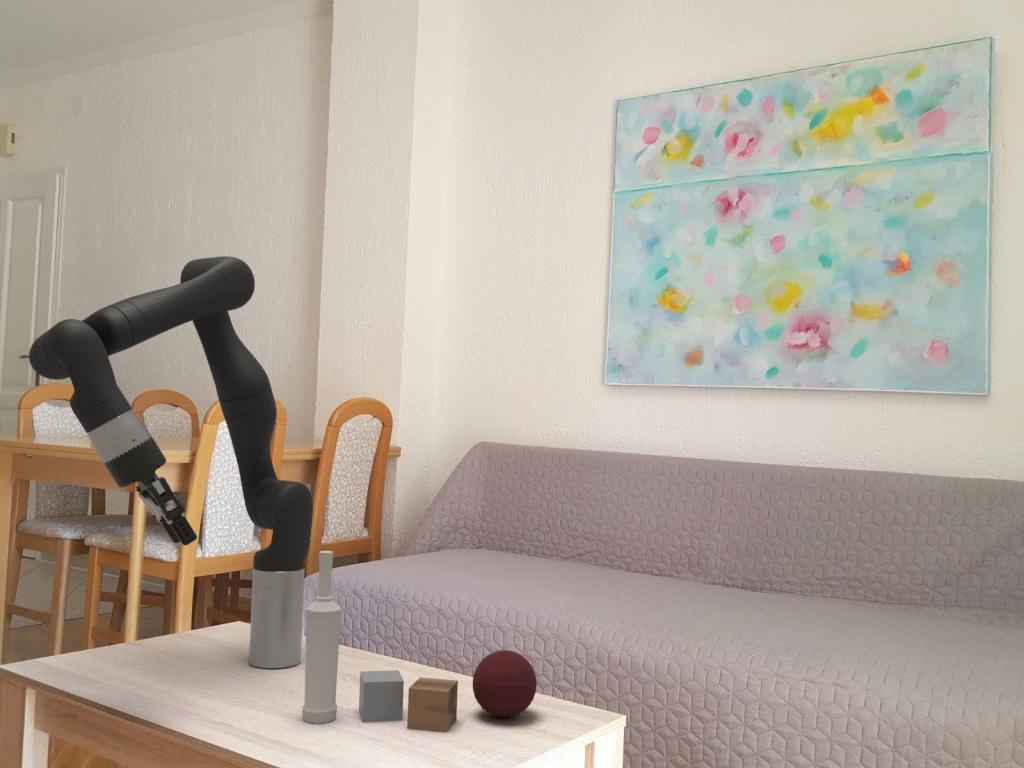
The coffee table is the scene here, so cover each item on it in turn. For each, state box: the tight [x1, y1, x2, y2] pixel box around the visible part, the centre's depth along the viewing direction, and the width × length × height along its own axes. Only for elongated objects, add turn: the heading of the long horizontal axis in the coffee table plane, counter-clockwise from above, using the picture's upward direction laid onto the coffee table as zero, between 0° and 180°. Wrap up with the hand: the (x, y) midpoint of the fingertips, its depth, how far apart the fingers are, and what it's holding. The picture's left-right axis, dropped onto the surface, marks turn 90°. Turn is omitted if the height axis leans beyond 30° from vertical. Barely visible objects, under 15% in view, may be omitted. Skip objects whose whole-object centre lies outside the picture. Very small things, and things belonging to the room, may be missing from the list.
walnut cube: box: [406, 676, 459, 734], centre depth 140 cm, size 6×6×6 cm
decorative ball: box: [472, 649, 538, 719], centre depth 144 cm, size 10×10×10 cm
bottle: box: [302, 550, 342, 725], centre depth 141 cm, size 5×5×25 cm
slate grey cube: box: [358, 669, 405, 723], centre depth 143 cm, size 6×6×6 cm
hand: (186, 541), depth 138 cm, fingers open, 8 cm apart
